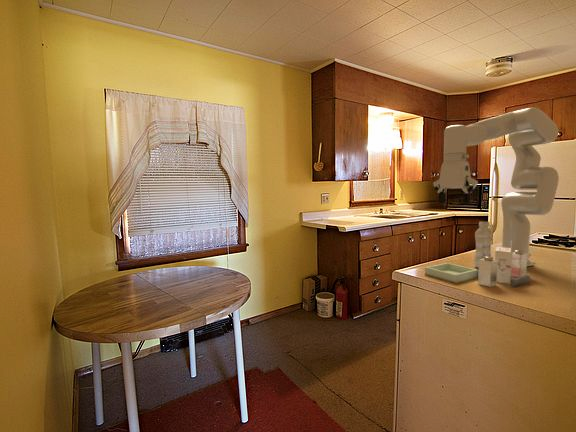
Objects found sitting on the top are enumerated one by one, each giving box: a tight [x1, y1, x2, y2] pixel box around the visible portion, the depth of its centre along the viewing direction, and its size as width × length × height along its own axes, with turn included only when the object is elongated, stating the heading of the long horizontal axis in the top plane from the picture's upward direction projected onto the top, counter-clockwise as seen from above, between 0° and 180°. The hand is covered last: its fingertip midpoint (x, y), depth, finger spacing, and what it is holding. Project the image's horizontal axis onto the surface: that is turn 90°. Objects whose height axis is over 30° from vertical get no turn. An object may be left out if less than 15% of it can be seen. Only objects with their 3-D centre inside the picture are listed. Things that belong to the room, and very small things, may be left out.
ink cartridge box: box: [494, 240, 512, 285], centre depth 110 cm, size 9×5×15 cm, turn 143°
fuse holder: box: [477, 250, 531, 288], centre depth 110 cm, size 24×12×10 cm, turn 117°
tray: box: [424, 262, 479, 284], centre depth 117 cm, size 14×13×3 cm
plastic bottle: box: [473, 220, 494, 269], centre depth 126 cm, size 6×7×20 cm
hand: (453, 203), depth 115 cm, fingers open, 9 cm apart
